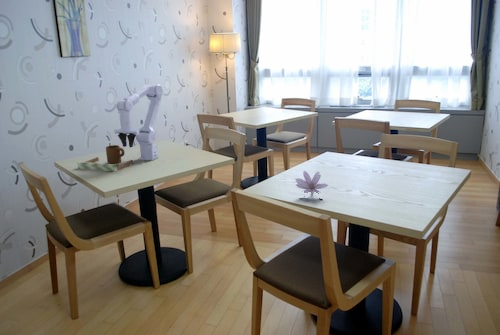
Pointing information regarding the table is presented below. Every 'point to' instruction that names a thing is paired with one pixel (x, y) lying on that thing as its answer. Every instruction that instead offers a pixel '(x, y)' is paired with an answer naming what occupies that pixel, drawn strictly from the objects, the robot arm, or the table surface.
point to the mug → (114, 154)
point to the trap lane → (102, 165)
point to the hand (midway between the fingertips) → (128, 146)
